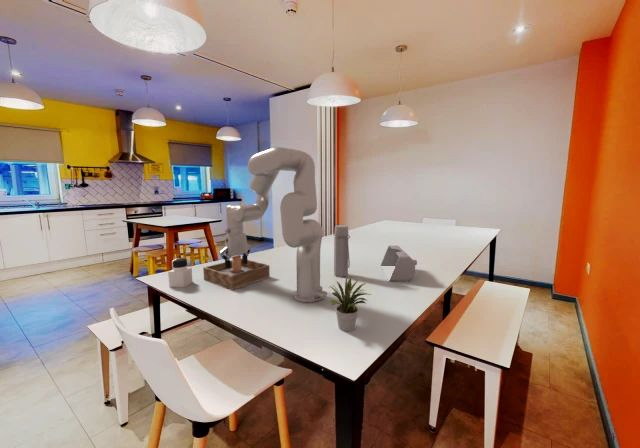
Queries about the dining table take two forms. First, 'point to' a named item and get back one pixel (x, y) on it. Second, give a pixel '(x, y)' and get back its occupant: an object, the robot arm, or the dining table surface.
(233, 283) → the open box
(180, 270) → the medicine bottle
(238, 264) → the peg
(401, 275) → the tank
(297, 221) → the robot arm
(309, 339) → the dining table surface
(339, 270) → the water bottle
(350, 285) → the house plant
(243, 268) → the bore plate
